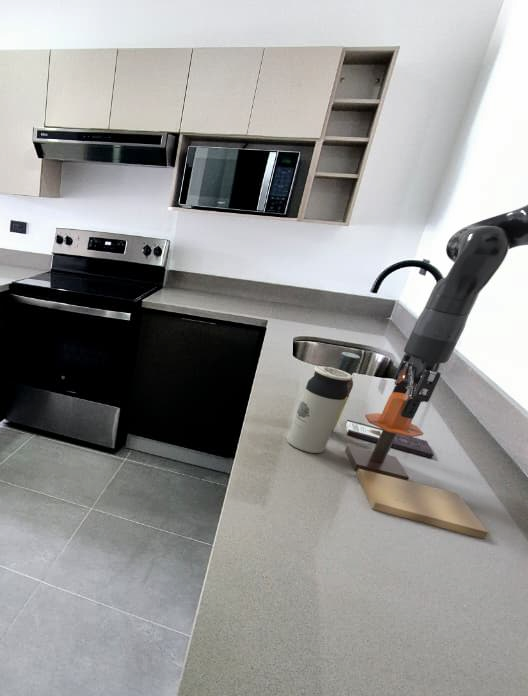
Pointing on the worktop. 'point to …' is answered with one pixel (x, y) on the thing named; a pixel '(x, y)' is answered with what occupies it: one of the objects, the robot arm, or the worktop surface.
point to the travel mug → (319, 409)
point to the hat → (394, 417)
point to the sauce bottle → (347, 365)
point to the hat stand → (377, 458)
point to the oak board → (420, 503)
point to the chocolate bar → (399, 442)
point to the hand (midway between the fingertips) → (399, 409)
